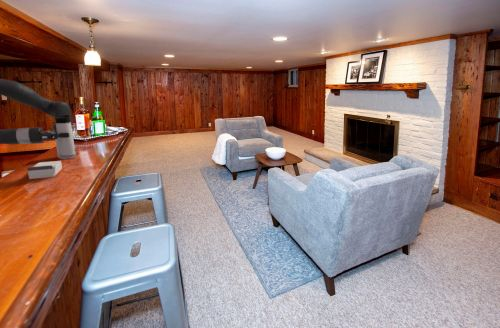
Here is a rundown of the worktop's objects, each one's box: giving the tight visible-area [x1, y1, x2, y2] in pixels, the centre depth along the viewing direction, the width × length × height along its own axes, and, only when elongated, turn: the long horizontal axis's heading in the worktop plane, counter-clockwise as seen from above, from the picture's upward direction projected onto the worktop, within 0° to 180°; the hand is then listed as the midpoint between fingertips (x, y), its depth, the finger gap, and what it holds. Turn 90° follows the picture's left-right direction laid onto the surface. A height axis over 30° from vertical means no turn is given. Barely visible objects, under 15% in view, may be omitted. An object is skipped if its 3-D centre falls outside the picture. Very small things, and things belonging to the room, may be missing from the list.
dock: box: [26, 160, 63, 180], centre depth 149 cm, size 16×10×6 cm, turn 19°
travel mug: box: [54, 115, 77, 158], centre depth 145 cm, size 6×7×20 cm
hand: (70, 133), depth 146 cm, fingers closed on travel mug, 6 cm apart
